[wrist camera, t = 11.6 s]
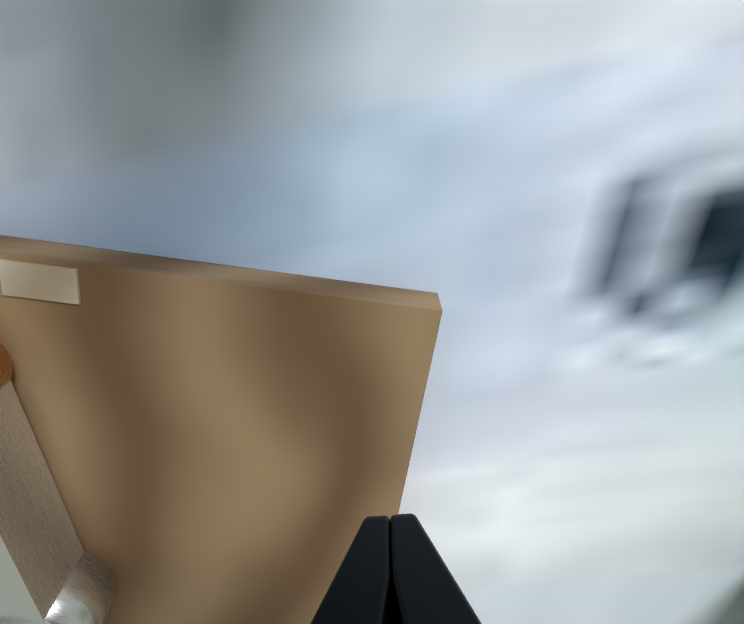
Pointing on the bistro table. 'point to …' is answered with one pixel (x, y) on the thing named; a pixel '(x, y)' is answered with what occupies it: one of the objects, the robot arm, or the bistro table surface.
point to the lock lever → (40, 533)
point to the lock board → (214, 420)
